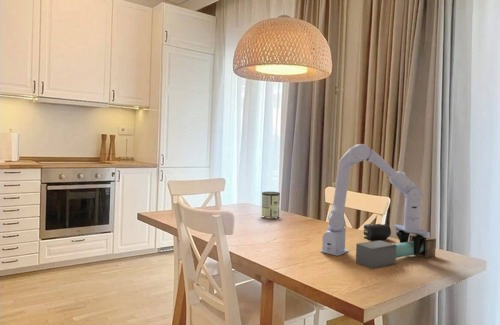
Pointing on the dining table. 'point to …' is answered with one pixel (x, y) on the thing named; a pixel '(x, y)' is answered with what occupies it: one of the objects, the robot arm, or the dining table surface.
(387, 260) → the grey rectangular box
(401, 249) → the tube
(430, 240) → the socket block
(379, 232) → the end cap
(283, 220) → the dining table surface
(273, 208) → the coffee can
